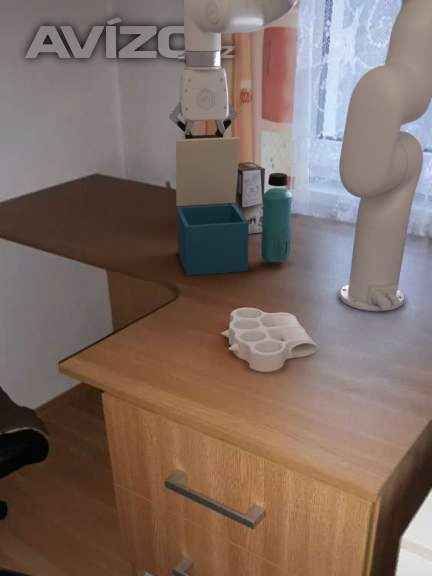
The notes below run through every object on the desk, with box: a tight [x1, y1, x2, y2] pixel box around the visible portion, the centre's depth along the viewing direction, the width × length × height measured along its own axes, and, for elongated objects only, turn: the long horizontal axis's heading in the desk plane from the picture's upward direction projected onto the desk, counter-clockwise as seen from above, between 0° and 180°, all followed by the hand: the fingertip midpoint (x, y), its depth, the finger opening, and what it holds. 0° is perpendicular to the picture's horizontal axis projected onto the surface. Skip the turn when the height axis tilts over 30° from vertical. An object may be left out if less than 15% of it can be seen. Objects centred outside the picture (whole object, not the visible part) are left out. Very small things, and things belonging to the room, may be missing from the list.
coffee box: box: [228, 161, 266, 235], centre depth 157 cm, size 9×6×16 cm
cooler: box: [176, 203, 250, 276], centre depth 138 cm, size 15×14×11 cm
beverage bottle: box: [260, 172, 293, 263], centre depth 134 cm, size 6×7×20 cm
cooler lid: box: [175, 134, 241, 207], centre depth 137 cm, size 16×14×5 cm
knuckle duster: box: [219, 307, 317, 373], centre depth 105 cm, size 3×18×15 cm
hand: (204, 151), depth 136 cm, fingers closed on cooler lid, 5 cm apart
